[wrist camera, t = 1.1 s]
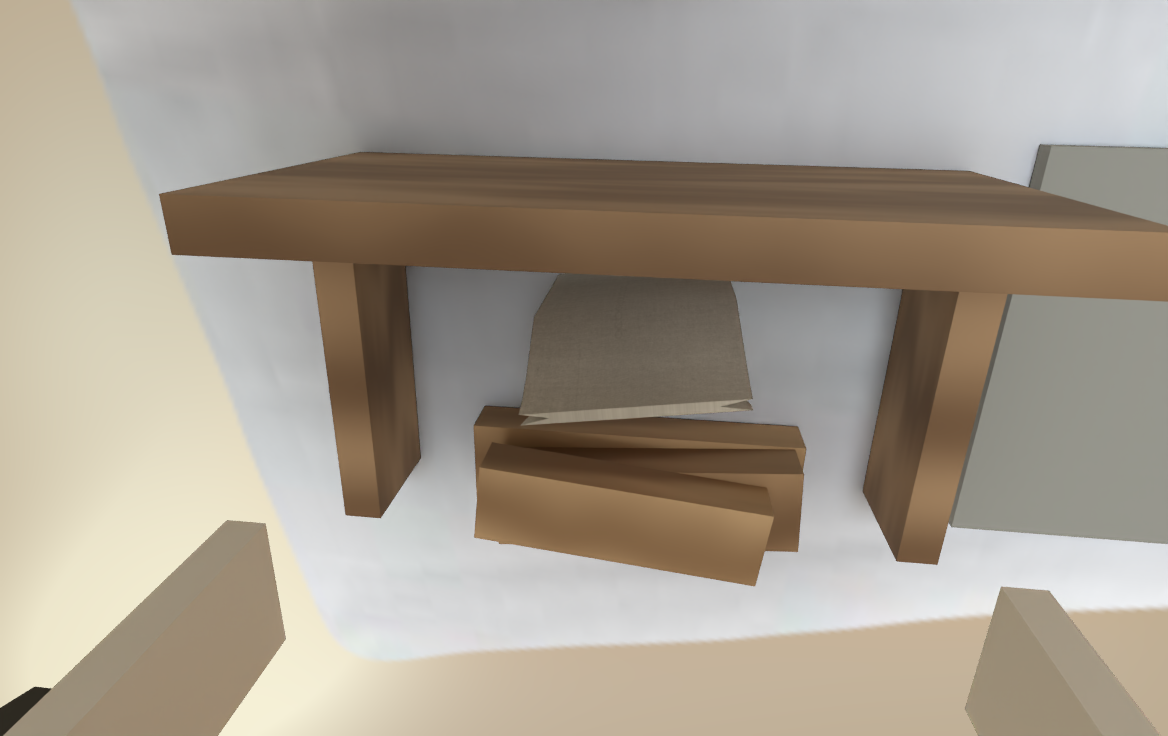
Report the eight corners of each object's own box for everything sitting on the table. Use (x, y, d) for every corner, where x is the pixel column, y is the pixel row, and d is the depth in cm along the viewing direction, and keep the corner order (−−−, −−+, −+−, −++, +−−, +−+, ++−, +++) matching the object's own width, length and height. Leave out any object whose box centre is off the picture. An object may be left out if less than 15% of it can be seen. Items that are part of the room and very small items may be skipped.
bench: (360, 152, 28) (159, 193, 17) (969, 171, 26) (1197, 233, 15) (390, 455, 33) (252, 639, 22) (896, 493, 31) (1024, 719, 20)
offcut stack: (484, 398, 31) (445, 464, 26) (799, 419, 30) (828, 493, 25) (488, 490, 33) (452, 570, 28) (784, 514, 32) (808, 603, 26)
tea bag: (559, 274, 29) (508, 360, 20) (722, 257, 28) (750, 340, 19) (571, 355, 30) (528, 472, 21) (727, 343, 29) (755, 459, 20)
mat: (1040, 144, 25) (1051, 146, 24) (1374, 153, 24) (1397, 155, 23) (944, 516, 31) (951, 527, 30) (1208, 537, 30) (1221, 548, 29)
